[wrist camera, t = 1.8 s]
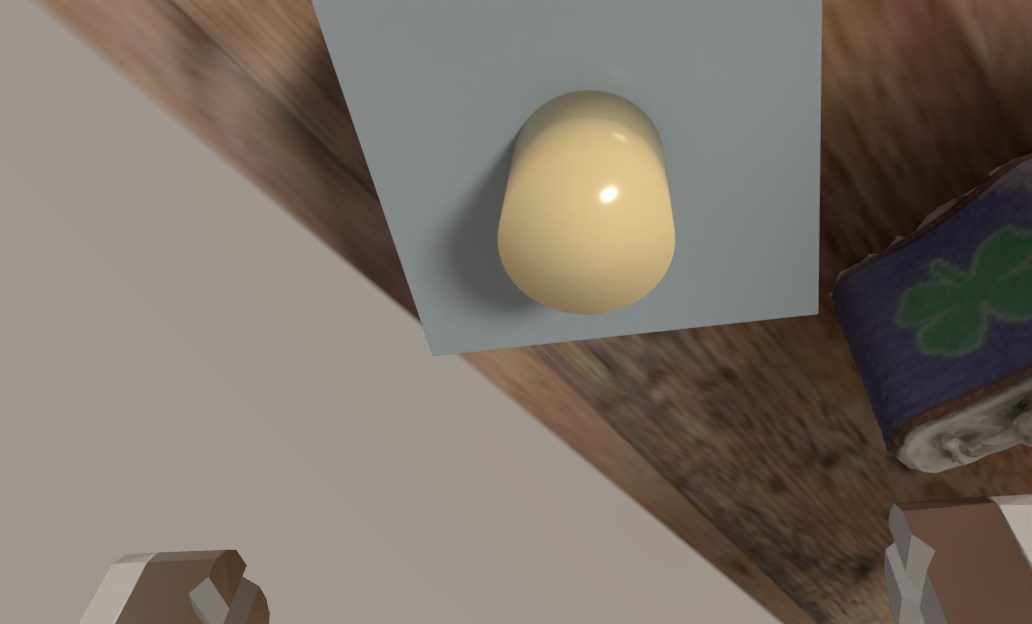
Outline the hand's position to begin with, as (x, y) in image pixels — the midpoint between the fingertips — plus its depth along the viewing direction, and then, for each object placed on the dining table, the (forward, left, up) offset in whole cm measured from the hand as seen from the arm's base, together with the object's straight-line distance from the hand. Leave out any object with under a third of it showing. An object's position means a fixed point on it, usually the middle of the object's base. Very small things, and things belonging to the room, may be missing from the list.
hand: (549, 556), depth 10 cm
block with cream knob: (0, 0, -12) cm, 12 cm away
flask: (-12, +10, -21) cm, 26 cm away
